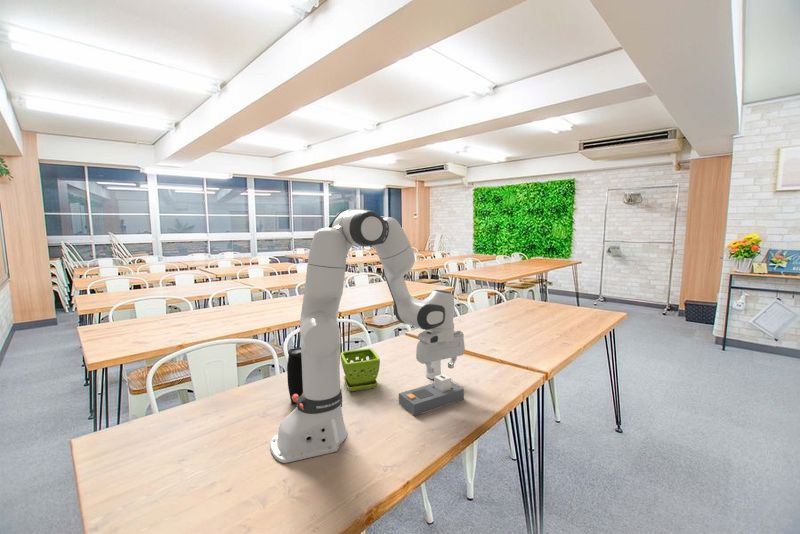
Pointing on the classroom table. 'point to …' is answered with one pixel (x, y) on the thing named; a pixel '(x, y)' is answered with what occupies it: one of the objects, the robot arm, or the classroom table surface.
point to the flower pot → (360, 369)
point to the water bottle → (437, 369)
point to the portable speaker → (294, 373)
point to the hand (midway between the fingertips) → (440, 370)
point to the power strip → (429, 398)
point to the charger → (442, 383)
